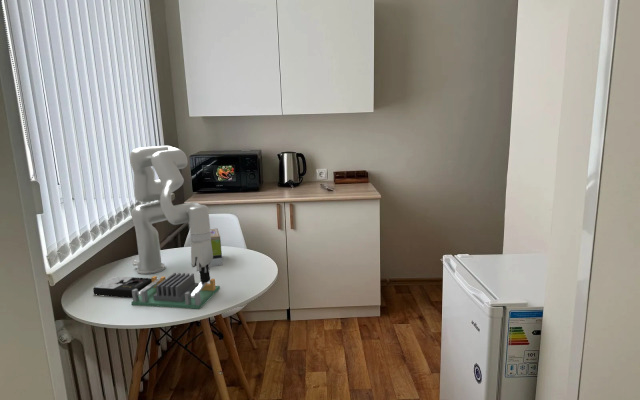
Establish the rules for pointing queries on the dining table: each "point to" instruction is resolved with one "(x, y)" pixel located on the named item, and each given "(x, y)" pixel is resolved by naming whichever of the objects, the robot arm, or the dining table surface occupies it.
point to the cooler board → (175, 292)
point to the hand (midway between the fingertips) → (205, 281)
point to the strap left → (149, 286)
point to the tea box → (216, 248)
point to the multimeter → (121, 286)
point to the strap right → (198, 289)
